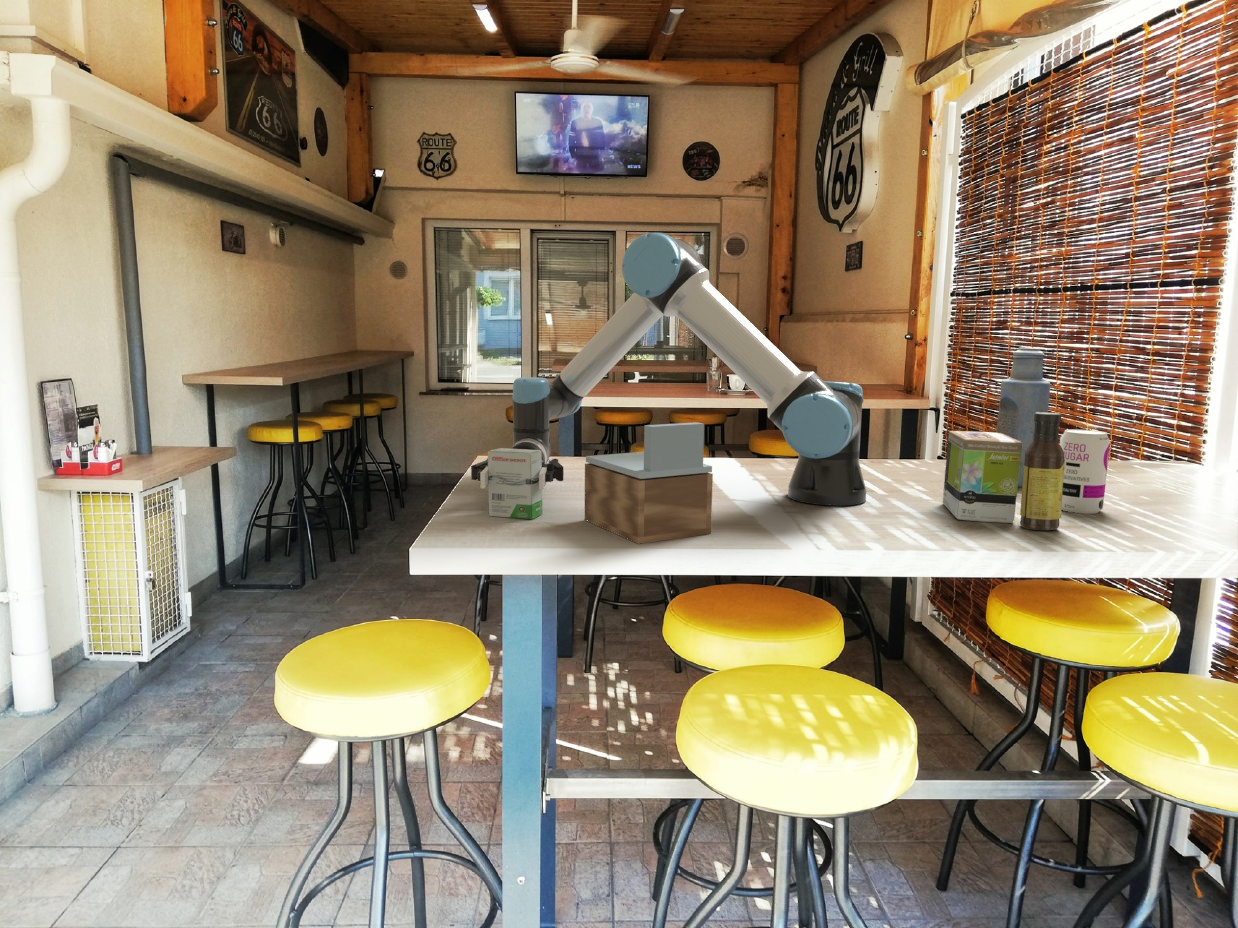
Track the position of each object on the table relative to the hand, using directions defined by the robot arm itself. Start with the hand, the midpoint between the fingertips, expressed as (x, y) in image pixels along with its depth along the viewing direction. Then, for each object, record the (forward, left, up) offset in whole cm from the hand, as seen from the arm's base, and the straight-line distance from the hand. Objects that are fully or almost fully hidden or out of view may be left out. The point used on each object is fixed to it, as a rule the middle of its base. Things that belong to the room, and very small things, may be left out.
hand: (511, 481), depth 142 cm
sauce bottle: (-91, +1, -7) cm, 91 cm away
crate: (-23, +3, -7) cm, 24 cm away
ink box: (0, -4, -7) cm, 8 cm away
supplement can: (-106, -14, -7) cm, 107 cm away
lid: (-23, +3, +3) cm, 23 cm away
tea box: (-85, -10, -7) cm, 86 cm away
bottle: (-107, -41, -7) cm, 115 cm away
